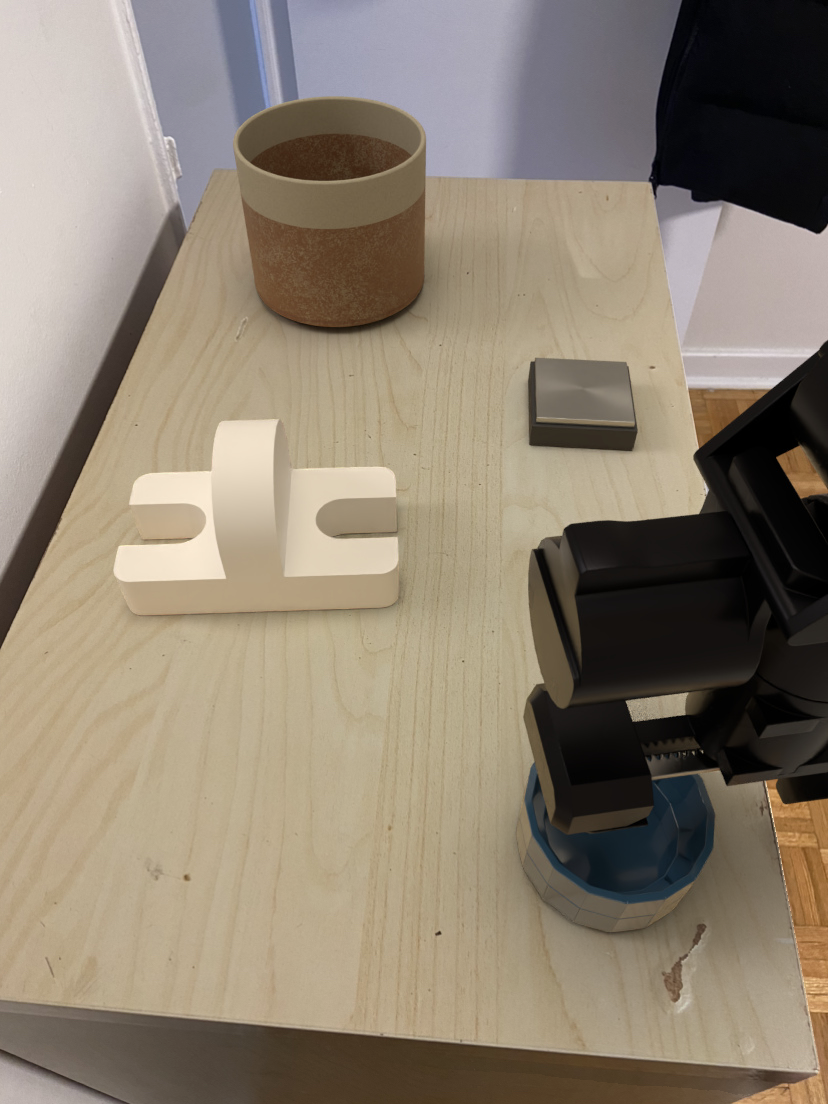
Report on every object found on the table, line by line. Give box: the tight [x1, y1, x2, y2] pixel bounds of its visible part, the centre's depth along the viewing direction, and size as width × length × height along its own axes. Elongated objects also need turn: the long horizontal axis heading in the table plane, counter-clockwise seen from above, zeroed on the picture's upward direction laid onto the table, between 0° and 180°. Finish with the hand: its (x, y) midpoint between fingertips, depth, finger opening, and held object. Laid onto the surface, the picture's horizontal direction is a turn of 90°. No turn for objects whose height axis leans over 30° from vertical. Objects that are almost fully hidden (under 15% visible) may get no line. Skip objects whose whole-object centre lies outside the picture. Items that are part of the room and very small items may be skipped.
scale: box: [527, 357, 639, 451], centre depth 67 cm, size 8×8×3 cm
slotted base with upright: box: [112, 418, 400, 616], centre depth 54 cm, size 10×18×11 cm, turn 92°
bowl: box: [515, 754, 716, 933], centre depth 43 cm, size 9×9×5 cm
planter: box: [232, 95, 427, 328], centre depth 74 cm, size 16×16×14 cm
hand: (697, 807), depth 43 cm, fingers open, 9 cm apart
